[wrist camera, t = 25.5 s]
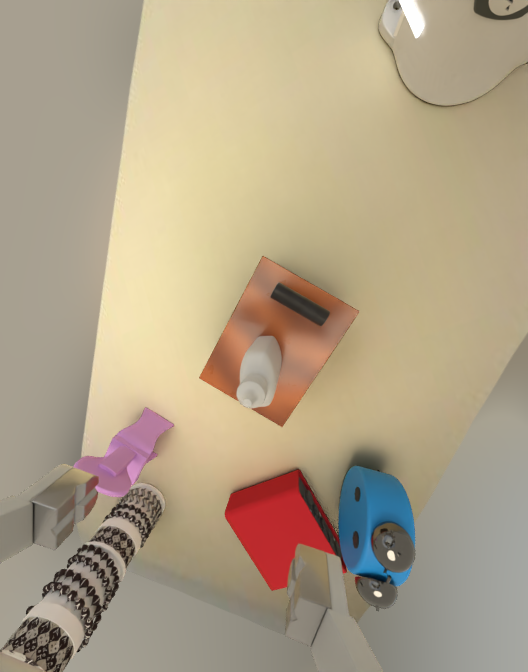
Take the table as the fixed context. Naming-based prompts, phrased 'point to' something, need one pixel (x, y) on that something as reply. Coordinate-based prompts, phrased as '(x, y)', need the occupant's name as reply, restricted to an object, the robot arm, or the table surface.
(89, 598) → the decorative candle
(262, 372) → the eye dropper bottle
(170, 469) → the table surface
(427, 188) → the table surface
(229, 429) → the table surface
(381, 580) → the alarm clock
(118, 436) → the toy chair
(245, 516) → the red device housing
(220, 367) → the lid
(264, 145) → the table surface
